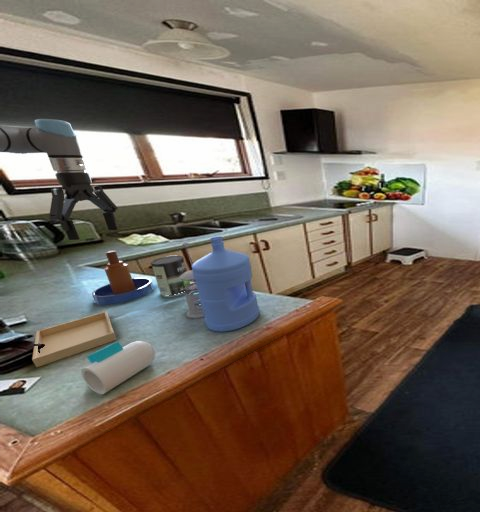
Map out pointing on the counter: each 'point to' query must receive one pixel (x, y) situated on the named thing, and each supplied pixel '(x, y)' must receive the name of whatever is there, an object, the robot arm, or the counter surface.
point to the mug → (116, 364)
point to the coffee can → (170, 275)
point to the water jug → (225, 288)
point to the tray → (72, 338)
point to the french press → (194, 307)
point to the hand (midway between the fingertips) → (95, 234)
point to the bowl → (107, 296)
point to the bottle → (118, 274)
